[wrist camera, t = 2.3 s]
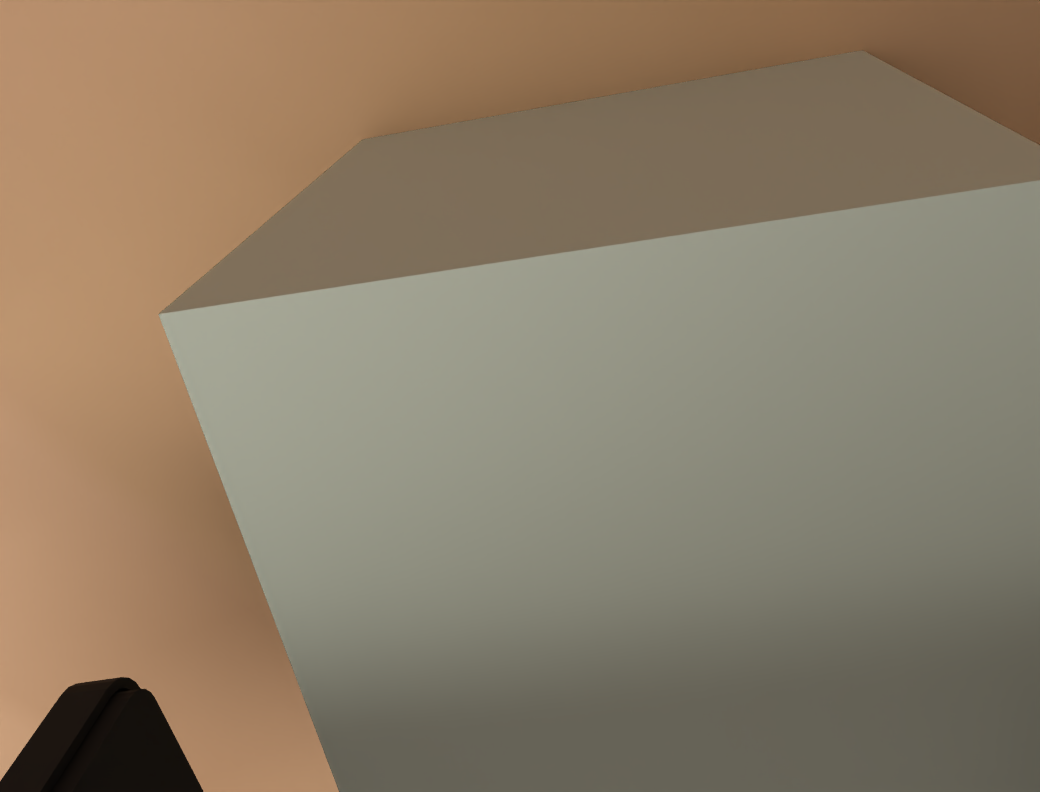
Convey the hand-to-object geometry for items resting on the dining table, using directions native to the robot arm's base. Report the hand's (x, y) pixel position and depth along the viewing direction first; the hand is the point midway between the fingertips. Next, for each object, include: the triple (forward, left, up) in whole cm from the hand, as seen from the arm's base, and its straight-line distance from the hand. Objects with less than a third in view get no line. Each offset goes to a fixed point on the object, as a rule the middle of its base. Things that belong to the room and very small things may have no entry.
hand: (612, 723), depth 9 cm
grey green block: (-1, 0, -5) cm, 5 cm away
